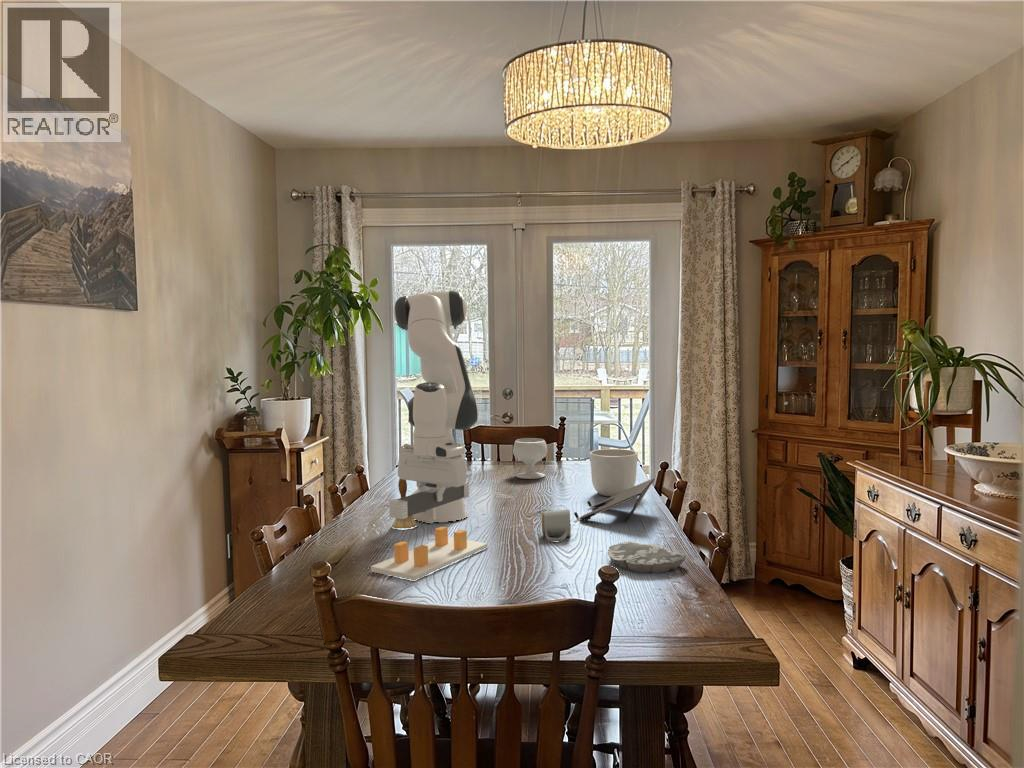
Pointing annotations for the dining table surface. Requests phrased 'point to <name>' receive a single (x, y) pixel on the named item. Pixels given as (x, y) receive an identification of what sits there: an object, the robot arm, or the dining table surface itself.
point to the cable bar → (425, 501)
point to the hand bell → (408, 521)
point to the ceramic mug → (556, 524)
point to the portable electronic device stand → (619, 500)
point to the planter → (613, 470)
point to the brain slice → (644, 557)
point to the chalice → (530, 455)
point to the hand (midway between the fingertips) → (431, 499)
